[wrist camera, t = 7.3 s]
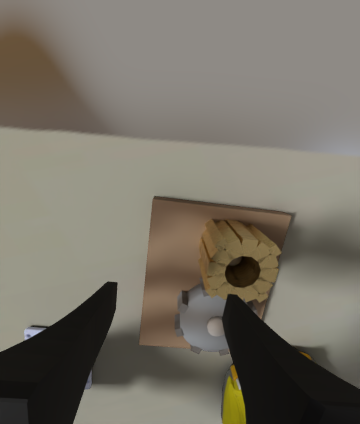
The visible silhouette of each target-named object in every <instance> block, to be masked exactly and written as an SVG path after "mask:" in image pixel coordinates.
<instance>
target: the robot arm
mask: <svg viewBox="0 0 360 424" xmlns="http://www.w3.org/2000/svg"><path fill="white" fill-rule="evenodd" d="M116 298H117V282H107V283H105V284H104V285H103V286H102V287H101V288H100V289H99V290H98V291H96V292H95V293H94V294H93V295H92V296H91V297H90V298H88V299H87V300H86V301H85V302H84V303H82V304H81V305H80V306H78V307H77V308H76V309H75V310H73V311H72V312H71V313H69V314H68V315H66V316H65V317H64V318H62V319H61V320H59V321H58V322H56V323H55V324H53V325H51V326H50V327H48V328H38V327H28V328H26V330H25V331H24V334H25V341H23V342H21V343H19V344H17V345H15V346H13V347H10V348H8V349H6V350H4V351H2V352H0V424H73V422H74V419H75V416H76V413H77V410H78V407H79V404H80V401H81V398H82V395H83V392H84V389H90V387H91V385H92V367H93V365H94V362H95V360H96V358H97V356H98V353H99V351H100V349H101V347H102V344H103V342H104V340H105V337H106V335H107V333H108V331H109V328H110V326H111V323H112V320H113V317H114V313H115V310H116ZM222 323H223V329H224V334H225V338H226V341H227V344H228V347H229V351H230V354H231V357H232V360H233V363H234V366H235V370H236V373H237V376H238V380H239V383H240V387H241V392H242V396H243V401H244V405H245V410H246V415H247V420H248V424H360V389H358V388H357V387H355V386H353V385H351V384H349V383H348V382H346V381H344V380H342V379H341V378H339V377H337V376H335V375H334V374H332V373H330V372H329V371H327V370H326V369H324V368H322V367H321V366H319V365H318V364H316V363H315V362H313V361H312V360H310V359H309V358H308V357H306V356H305V355H303V354H302V353H301V352H299V351H298V350H296V349H295V348H294V347H292V346H291V345H290V344H289V343H287V342H286V341H285V340H284V339H282V338H281V337H280V336H279V335H278V334H277V333H275V332H274V331H273V330H272V329H271V328H270V327H269V326H268V325H267V324H266V323H265V322H263V321H262V320H261V319H260V318H259V317H258V316H257V315H256V314H255V313H254V312H253V311H252V310H251V308H250V307H249V306H248V305H247V304H246V303H245V302H244V301H243V300H242V299H241V298H240V297H239V296H238V295H236V294H228V295H227V299H226V304H225V308H224V312H223V316H222Z"/></svg>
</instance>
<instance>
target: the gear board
mask: <svg viewBox="0 0 360 424" xmlns="http://www.w3.org/2000/svg"><path fill="white" fill-rule="evenodd" d="M211 219H212V220H213V221H214V223H215V222H217V221H220V220H224V221H225V220H226V219H230V220H237V221H239V222H241V223H243V224H244V225H245V226H248V225H249V224H252V225H253V226H254V227H256V228H257V229H258V230H259V231H260V232H262V233H263V234H264V235H265V236H266V237H268V238H269V239H270V240H271V241H273V242H274V243H275V244H276V245H277V247H278V248H279V249H280V251H281V250H282V247H283V244H284V240H285V237H286V233H287V230H288V227H289V223H290V220H291V215H288V214H286V213H284V212H278V211H270V210H262V209H254V208H246V207H238V206H230V205H221V204H213V203H205V202H197V201H189V200H181V199H173V198H164V197H156V196H154V198H153V202H152V212H151V223H150V233H149V244H148V254H147V265H146V275H145V286H144V296H143V307H142V317H141V328H140V338H139V345H149V346H162V347H175V348H189V349H191V351H193V352H195V353H197V354H199V353H200V351H201V350H203V351H209V352H218V351H219V353H220V356H221V355H225V354H229V352H230V351H229V347H228V344H227V341H226V338H225V334H224V329H223V323H222V316H223V312H224V308H225V304H226V300H224V299H222V298H221V297H219V296H218V295H216V296H215V297H213V298H211V297H210V296H209V294H208V293H207V292H206V291H205V287H204V283H203V278H202V274H201V270H200V266H199V262H198V259H200V258H201V255H200V252H199V243H200V237H203V236H202V234H203V232H204V231H205V230H206V227H205V223H206V222H208V221H209V220H211ZM279 257H280V254H279V255H278V256H276V258H277V262H278V261H279ZM241 259H242V256H240V257H238V258H235V259H233V260H232V261H231V262H230V263H229V264H228V265H236V264H238V263H239V262H240V261H241ZM271 283H272V282H271ZM269 291H270V289H269V290H268V291H267V292H266V294H267V295H269ZM243 301H244V302H245V303H246V304H247V305H248V306H249V307H250V308H251V310H252V311H253V312H254V313H255V314H256V315H257V316H258V317H259V318H260V319H262V315H263V312H264V308H265V305H266V302H267V298H266V299H265V300H263V301H262V302H260V303H259V302H258V300H257V299H254V300H251V301H248V302H246V301H245V299H243Z"/></svg>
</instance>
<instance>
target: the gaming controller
mask: <svg viewBox="0 0 360 424" xmlns="http://www.w3.org/2000/svg"><path fill="white" fill-rule="evenodd" d="M299 352H300V351H299ZM301 353H302V354H303V355H305V356H306V357H308V358H309V359H310V360H312V361H313V362H315V360H314V359H313V358H312V357H310V356H309V355H308V354H306V353H303V352H301ZM315 363H316V362H315ZM316 364H317V363H316ZM221 418H222V423H223V424H248V420H247V415H246V410H245V405H244V401H243V396H242V392H241V387H240V383H239V380H238V376H237V373H236V370H235V366H234V364H232V365H231V366H230V369H229V370H228V372H227V374H226V377H225V381H224V385H223V389H222V405H221Z"/></svg>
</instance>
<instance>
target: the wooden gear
mask: <svg viewBox="0 0 360 424" xmlns="http://www.w3.org/2000/svg"><path fill="white" fill-rule="evenodd" d="M205 227H206V230H205V231H204V232H203V234H202V236H203V237H200V243H199V252H200V255H201V258H200V259H198V262H199V266H200V270H201V274H202V278H203V283H204V287H205V291H206V292H207V293H208V294H209V296H210V297H211V298H213V297H215V296H216V295H218V296H219V297H221V298H222V299H224V300H226V299H227V295H228V294H236V295H238V296H239V297H240V298H241V299H242V300H243V299H245V301H246V302H248V301H251V300H254V299H257V300H258V302H259V303H260V302H262V301H263V300H265V299H266V298H268V295H267V294H266V292H267V291H268V290H269V289H270V288H271V287H272V286H273V285H272V283H271V282H275V280H276V277H277V274H278V270H279V269H278V268H277V267H278V266H279V265H278V262H277V258H276V256H278V255H279V254H281V253H282V252H281V251H280V249H279V248H278V247H277V245H276V244H275V243H274V242H273V241H271V240H270V239H269V238H268V237H266V236H265V235H264V234H263V233H262V232H260V231H259V230H258V229H257V228H256V227H254V226H253V225H252V224H249V225H248V226H245V225H244V224H243V223H241V222H239V221H237V220H230V219H226V220H225V221H224V220H220V221H217V222H215V223H214V221H213V220H212V219H211V220H209V221H208V222H206V223H205ZM240 256H242V259H241V261H240V262H239V263H238V264H236V265H228V264H229V263H230V262H231V261H232V260H233V259H235V258H238V257H240Z"/></svg>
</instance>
